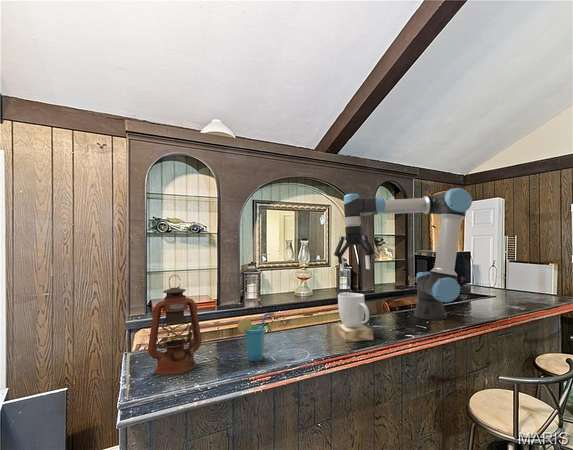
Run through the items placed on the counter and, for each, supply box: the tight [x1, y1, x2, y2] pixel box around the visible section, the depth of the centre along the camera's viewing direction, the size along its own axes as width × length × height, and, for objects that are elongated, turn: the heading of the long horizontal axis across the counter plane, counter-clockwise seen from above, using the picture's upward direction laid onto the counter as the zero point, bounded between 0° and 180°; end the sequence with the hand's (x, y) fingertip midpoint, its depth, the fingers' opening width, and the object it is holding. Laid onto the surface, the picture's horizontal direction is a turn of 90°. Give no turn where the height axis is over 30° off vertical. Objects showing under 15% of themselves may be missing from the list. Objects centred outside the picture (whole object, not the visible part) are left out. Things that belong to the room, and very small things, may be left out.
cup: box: [236, 312, 275, 362], centre depth 111 cm, size 14×8×15 cm, turn 123°
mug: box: [337, 292, 370, 328], centre depth 134 cm, size 15×11×13 cm
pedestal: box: [334, 323, 374, 343], centre depth 134 cm, size 12×12×4 cm
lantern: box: [147, 274, 203, 376], centre depth 105 cm, size 17×13×30 cm
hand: (355, 270), depth 153 cm, fingers open, 13 cm apart
